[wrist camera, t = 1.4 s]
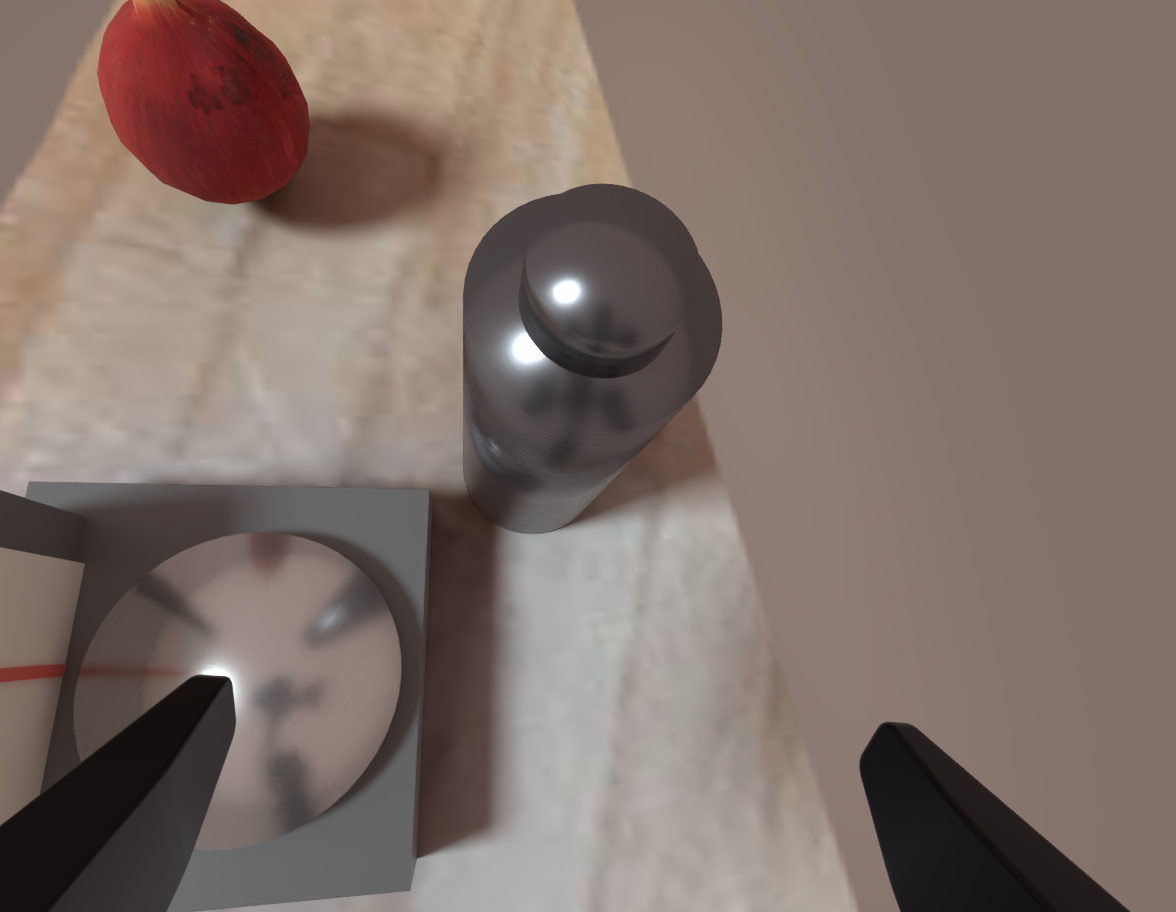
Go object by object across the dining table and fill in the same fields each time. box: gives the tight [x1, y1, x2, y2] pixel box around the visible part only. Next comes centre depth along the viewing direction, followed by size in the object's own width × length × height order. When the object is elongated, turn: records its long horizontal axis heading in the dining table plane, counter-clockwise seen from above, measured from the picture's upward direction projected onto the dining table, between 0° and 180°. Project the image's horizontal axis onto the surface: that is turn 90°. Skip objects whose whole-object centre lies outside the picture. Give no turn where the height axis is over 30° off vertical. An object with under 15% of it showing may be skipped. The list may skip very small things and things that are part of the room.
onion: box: [97, 0, 310, 205], centre depth 20 cm, size 6×6×8 cm
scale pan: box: [73, 532, 402, 850], centre depth 17 cm, size 8×8×1 cm
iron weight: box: [463, 184, 722, 534], centre depth 17 cm, size 5×5×14 cm
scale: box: [0, 482, 433, 912], centre depth 16 cm, size 11×11×7 cm
